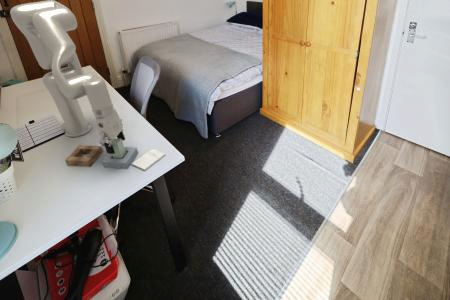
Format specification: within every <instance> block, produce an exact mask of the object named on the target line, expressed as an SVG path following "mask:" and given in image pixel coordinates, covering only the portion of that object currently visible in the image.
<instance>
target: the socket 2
mask: <svg viewBox="0 0 450 300" xmlns="http://www.w3.org/2000/svg"><path fill="white" fill-rule="evenodd" d="M124 148H125V151H126V155H125V157H124V158H123V159H114V158H113V156H112V154H108V153H107V154H106V156H105V157H104V158H103V159H102V161H101V164H102V167H103V168H109V169H127V170H128V169H129V168H130V166H132V165H131V164H132V163H133V162H134V161H135V159H136V157H137V156H138V154H139V150H138V148H137V147H134V146H132V147H131V146H124Z"/></svg>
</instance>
